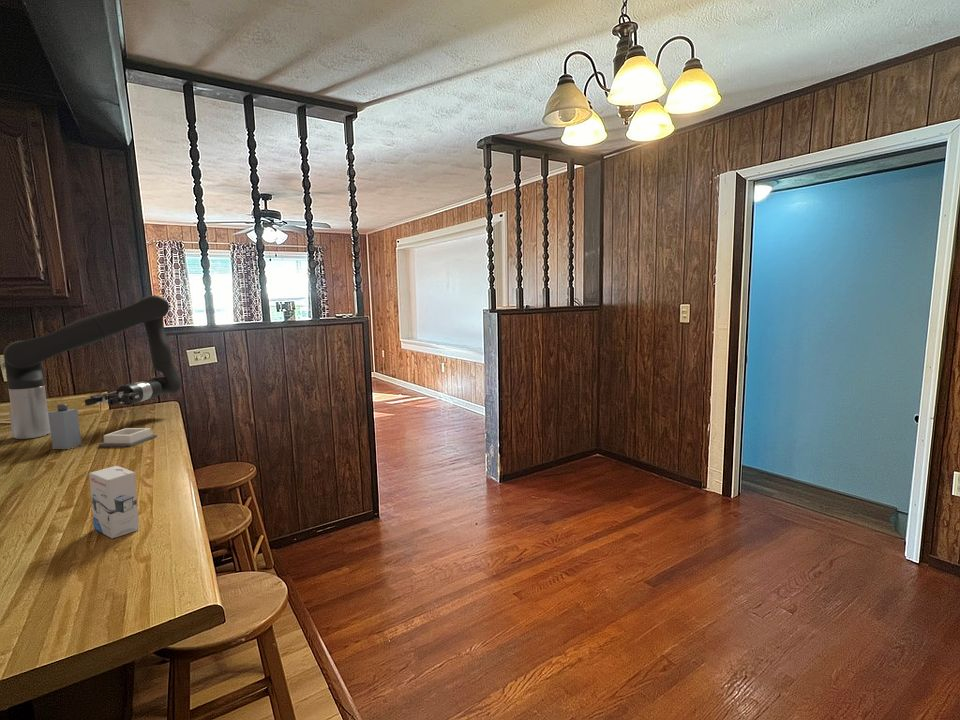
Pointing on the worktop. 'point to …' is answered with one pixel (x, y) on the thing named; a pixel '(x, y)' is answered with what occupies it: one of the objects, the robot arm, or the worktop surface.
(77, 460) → the worktop surface
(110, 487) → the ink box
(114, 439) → the socket block
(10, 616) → the worktop surface
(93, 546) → the worktop surface
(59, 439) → the grey-blue square bottle
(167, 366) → the robot arm
